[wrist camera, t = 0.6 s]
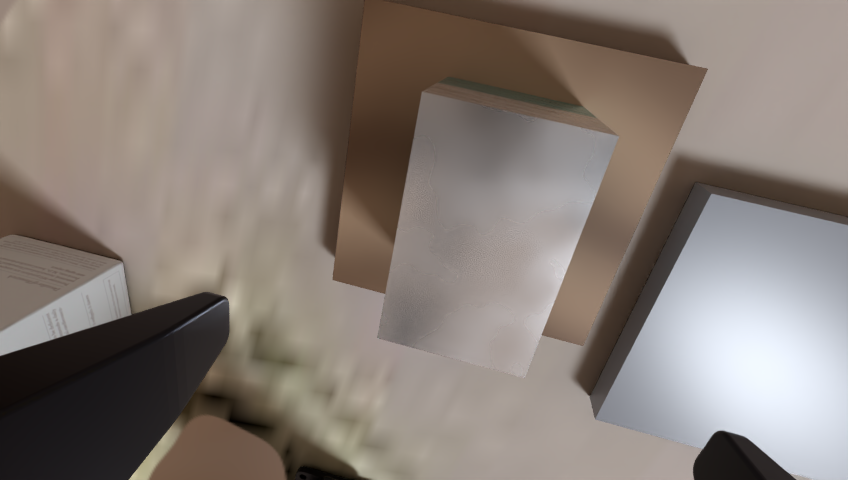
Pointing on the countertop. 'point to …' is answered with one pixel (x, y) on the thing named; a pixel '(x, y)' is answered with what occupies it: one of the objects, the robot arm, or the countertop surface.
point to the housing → (490, 221)
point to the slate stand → (741, 334)
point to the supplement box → (55, 291)
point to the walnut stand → (522, 72)
